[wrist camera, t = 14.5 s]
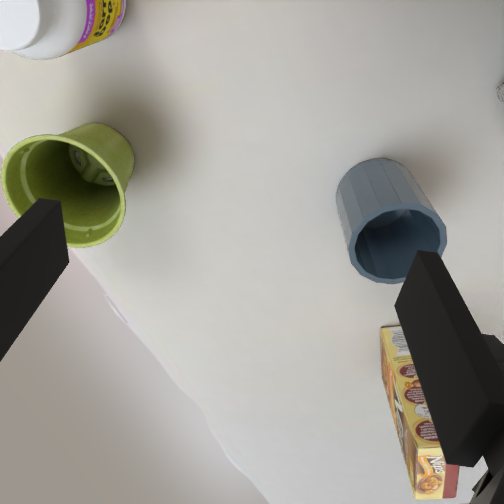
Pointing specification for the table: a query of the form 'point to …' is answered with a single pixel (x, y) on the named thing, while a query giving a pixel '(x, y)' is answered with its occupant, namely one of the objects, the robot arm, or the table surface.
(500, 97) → the bunny figurine
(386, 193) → the ceramic cup
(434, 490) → the candy box
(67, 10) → the supplement bottle
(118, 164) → the plant pot
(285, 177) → the table surface
